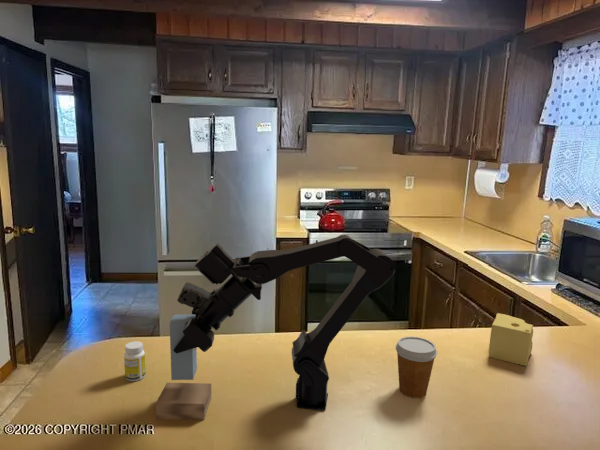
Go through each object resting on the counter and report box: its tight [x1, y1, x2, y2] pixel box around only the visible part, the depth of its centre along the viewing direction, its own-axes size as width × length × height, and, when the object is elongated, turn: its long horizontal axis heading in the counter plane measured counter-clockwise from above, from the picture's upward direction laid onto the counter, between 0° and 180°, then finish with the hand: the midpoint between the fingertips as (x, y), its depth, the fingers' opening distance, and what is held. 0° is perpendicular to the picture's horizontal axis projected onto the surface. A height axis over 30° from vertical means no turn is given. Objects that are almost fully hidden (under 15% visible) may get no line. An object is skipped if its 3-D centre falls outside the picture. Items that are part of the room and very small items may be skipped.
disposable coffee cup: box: [395, 336, 438, 399], centre depth 106 cm, size 10×10×12 cm
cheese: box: [488, 312, 534, 367], centre depth 126 cm, size 10×11×10 cm
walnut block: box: [155, 382, 212, 421], centre depth 97 cm, size 10×8×4 cm
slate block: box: [169, 313, 198, 381], centre depth 97 cm, size 5×5×13 cm
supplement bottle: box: [123, 340, 147, 382], centre depth 109 cm, size 5×5×8 cm
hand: (177, 346), depth 97 cm, fingers closed on slate block, 5 cm apart
